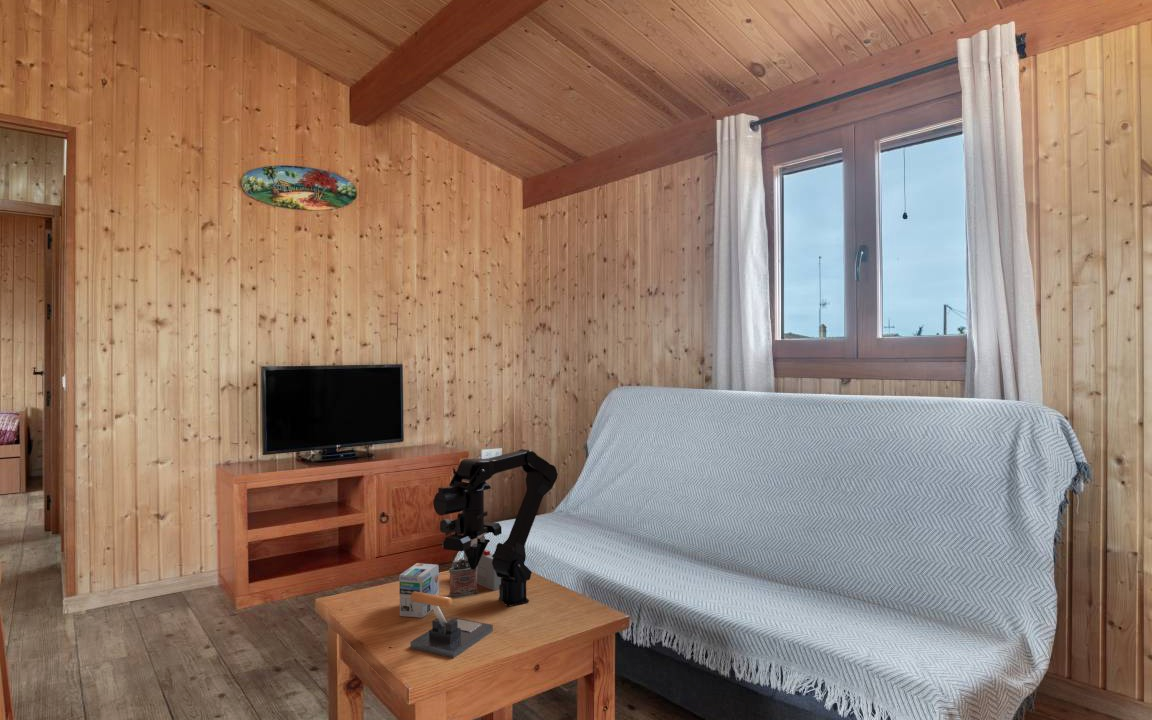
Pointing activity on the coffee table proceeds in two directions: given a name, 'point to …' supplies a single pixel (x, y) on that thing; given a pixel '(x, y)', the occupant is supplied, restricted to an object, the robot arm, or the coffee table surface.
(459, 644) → the switch panel
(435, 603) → the lever
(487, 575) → the cassette player
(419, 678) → the coffee table surface
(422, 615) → the light bulb box
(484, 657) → the coffee table surface
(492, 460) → the robot arm
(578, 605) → the coffee table surface
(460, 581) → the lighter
